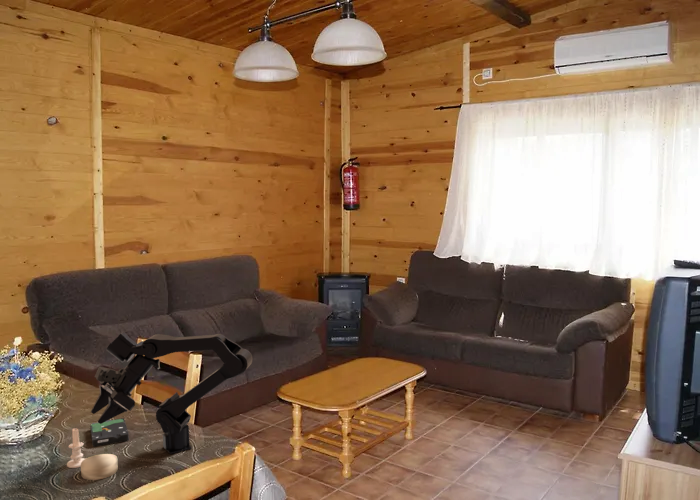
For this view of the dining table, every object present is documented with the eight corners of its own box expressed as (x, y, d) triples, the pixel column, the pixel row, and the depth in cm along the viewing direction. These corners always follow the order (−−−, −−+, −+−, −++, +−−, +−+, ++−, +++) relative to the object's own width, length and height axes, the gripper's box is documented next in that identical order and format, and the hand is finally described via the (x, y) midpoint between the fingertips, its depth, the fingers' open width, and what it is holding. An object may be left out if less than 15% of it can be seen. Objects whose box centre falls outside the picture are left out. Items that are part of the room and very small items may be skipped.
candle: (90, 459, 170) (88, 423, 169) (83, 467, 165) (80, 430, 164) (71, 459, 170) (69, 423, 169) (63, 468, 165) (61, 431, 164)
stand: (113, 461, 169) (112, 451, 168) (121, 473, 161) (121, 462, 161) (78, 470, 164) (77, 459, 163) (85, 483, 156) (84, 471, 156)
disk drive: (130, 442, 183) (124, 425, 196) (129, 433, 183) (124, 417, 196) (92, 449, 179) (89, 431, 192) (92, 440, 178) (89, 422, 192)
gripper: (105, 349, 179) (66, 392, 174) (120, 363, 163) (78, 412, 158) (134, 370, 184) (97, 413, 179) (151, 386, 168) (111, 434, 163)
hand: (95, 417), depth 170 cm, fingers open, 9 cm apart
